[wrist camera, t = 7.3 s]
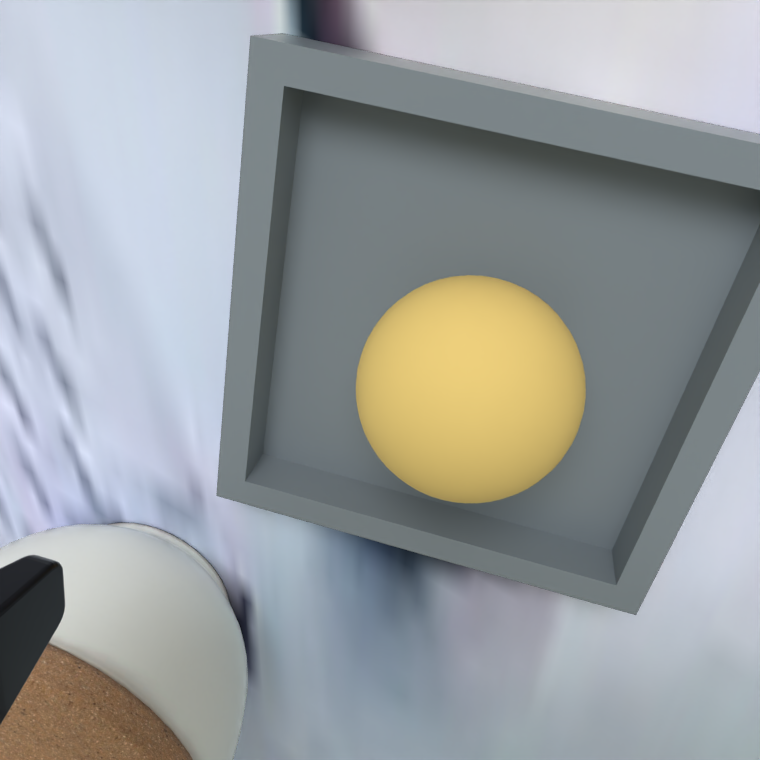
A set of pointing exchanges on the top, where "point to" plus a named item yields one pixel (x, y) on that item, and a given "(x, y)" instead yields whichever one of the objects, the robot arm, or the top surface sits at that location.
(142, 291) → the top surface
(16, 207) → the top surface
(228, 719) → the lidded jar
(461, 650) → the top surface
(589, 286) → the tray
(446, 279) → the ball
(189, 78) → the top surface
